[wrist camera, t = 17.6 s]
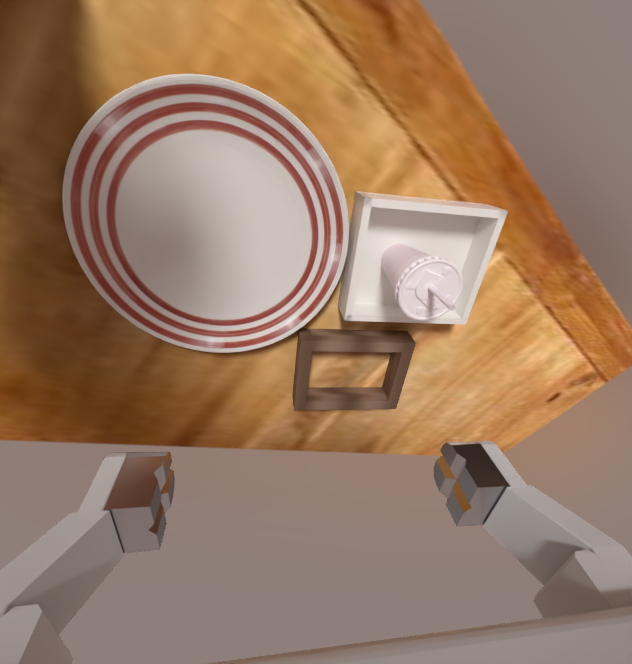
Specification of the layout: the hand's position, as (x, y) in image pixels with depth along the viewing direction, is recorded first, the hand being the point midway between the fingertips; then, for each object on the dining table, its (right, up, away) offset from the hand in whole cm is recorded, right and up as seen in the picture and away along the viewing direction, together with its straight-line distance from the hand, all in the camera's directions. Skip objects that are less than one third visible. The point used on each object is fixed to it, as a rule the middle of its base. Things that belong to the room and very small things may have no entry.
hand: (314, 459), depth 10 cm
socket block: (+5, -1, +38) cm, 38 cm away
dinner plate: (-10, +14, +27) cm, 32 cm away
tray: (+11, +13, +31) cm, 35 cm away
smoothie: (+10, +13, +30) cm, 34 cm away
